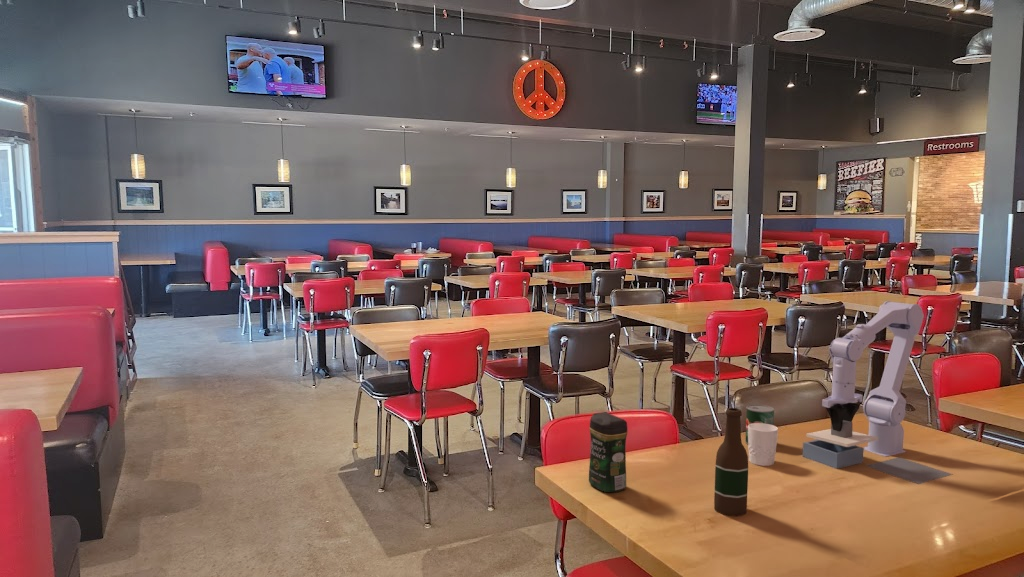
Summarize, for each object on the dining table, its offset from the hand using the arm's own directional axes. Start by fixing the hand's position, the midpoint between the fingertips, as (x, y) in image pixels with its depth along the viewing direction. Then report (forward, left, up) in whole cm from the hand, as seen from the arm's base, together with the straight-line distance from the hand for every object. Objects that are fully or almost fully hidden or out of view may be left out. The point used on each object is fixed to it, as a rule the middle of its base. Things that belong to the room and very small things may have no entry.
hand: (841, 429), depth 196 cm
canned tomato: (+7, -22, -10) cm, 25 cm away
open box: (+1, -1, -9) cm, 9 cm away
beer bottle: (+51, +10, -10) cm, 53 cm away
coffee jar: (+68, -15, -10) cm, 71 cm away
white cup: (+19, -10, -10) cm, 24 cm away
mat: (-10, +14, -9) cm, 19 cm away
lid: (0, 0, -2) cm, 2 cm away
